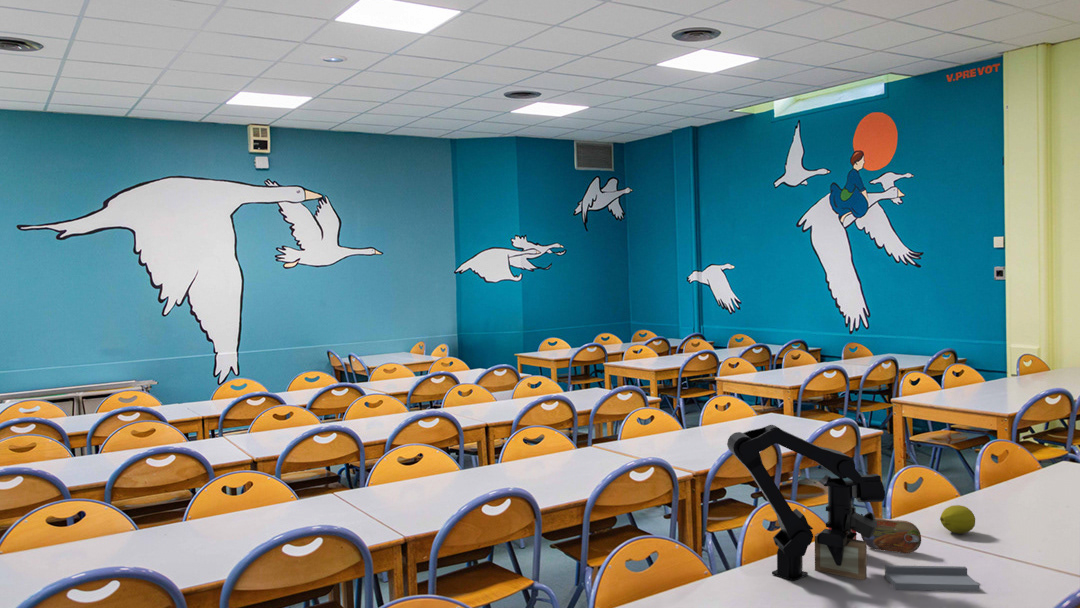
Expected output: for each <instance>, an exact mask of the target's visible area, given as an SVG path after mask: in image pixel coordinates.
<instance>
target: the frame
mask: <svg viewBox="0 0 1080 608" xmlns="http://www.w3.org/2000/svg"><path fill="white" fill-rule="evenodd" d="M819 533H820V532H817V533H816V534H815V535H814V571H817V572H821V573H825V574H826V573H827V574H832V575H837V576H841V577H846V578H850V579H856V580H861V581H865V579H867V573H868V572H867V565H868V561H867V559H868V558H867V556H868V555H867V547H868V546H867V541H863V540H862V539H861V540H860V539H857V538H856V539H850V538H847V540H848V541H850V542H849V543H848V545H846V546H845V547H844V552H843V558H842V564H841V566H838V565H836V563H835V561H834V559H833V557H832V555H831V553H830V551H829V549H828V547H827V545H823V544H819V543H817V535H818V534H819Z"/></svg>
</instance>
